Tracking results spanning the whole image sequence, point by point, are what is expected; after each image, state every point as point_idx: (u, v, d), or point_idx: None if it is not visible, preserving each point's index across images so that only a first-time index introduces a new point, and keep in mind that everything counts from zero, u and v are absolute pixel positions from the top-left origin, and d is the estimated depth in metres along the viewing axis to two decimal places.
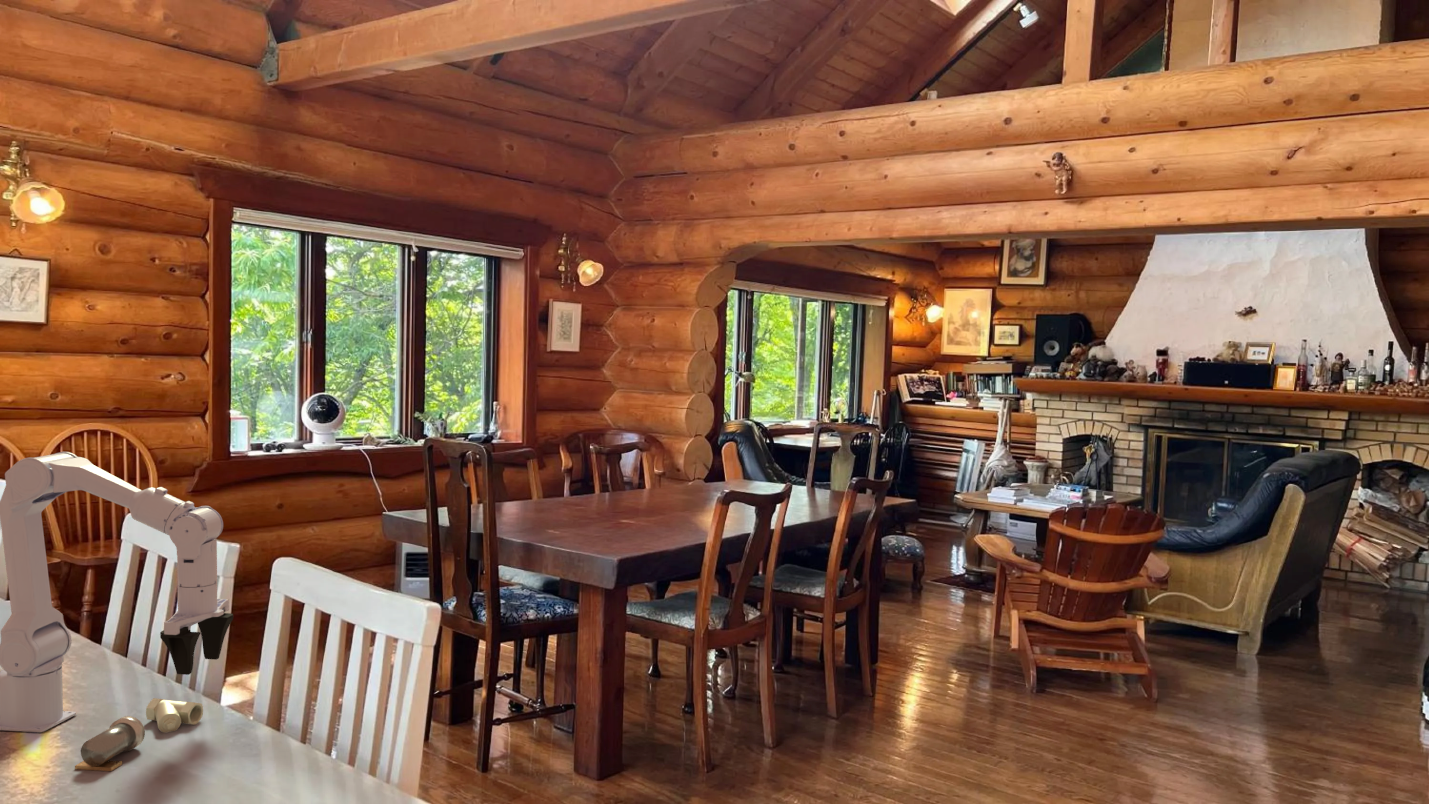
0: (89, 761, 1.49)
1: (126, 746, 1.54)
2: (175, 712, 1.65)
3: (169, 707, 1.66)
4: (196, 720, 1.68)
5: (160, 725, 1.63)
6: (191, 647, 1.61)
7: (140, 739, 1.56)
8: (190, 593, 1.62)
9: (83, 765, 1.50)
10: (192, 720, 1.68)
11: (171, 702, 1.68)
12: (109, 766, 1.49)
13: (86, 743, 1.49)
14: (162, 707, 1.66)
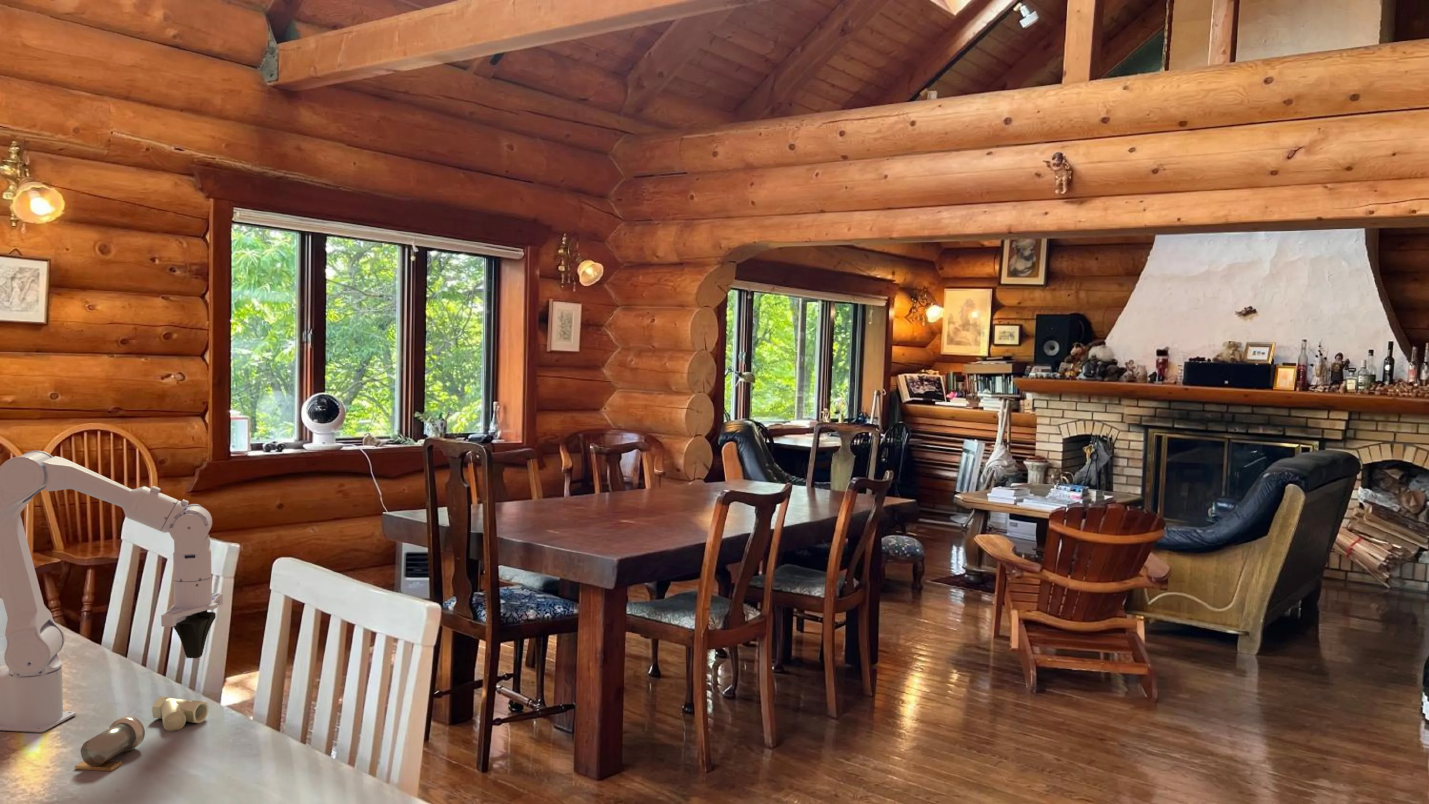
0: (89, 761, 1.49)
1: (126, 746, 1.54)
2: (180, 710, 1.66)
3: (174, 705, 1.67)
4: (201, 719, 1.69)
5: (165, 723, 1.64)
6: (199, 632, 1.72)
7: (140, 739, 1.56)
8: (186, 587, 1.70)
9: (83, 765, 1.50)
10: (197, 719, 1.69)
11: (177, 700, 1.69)
12: (109, 766, 1.49)
13: (86, 743, 1.49)
14: (167, 705, 1.67)
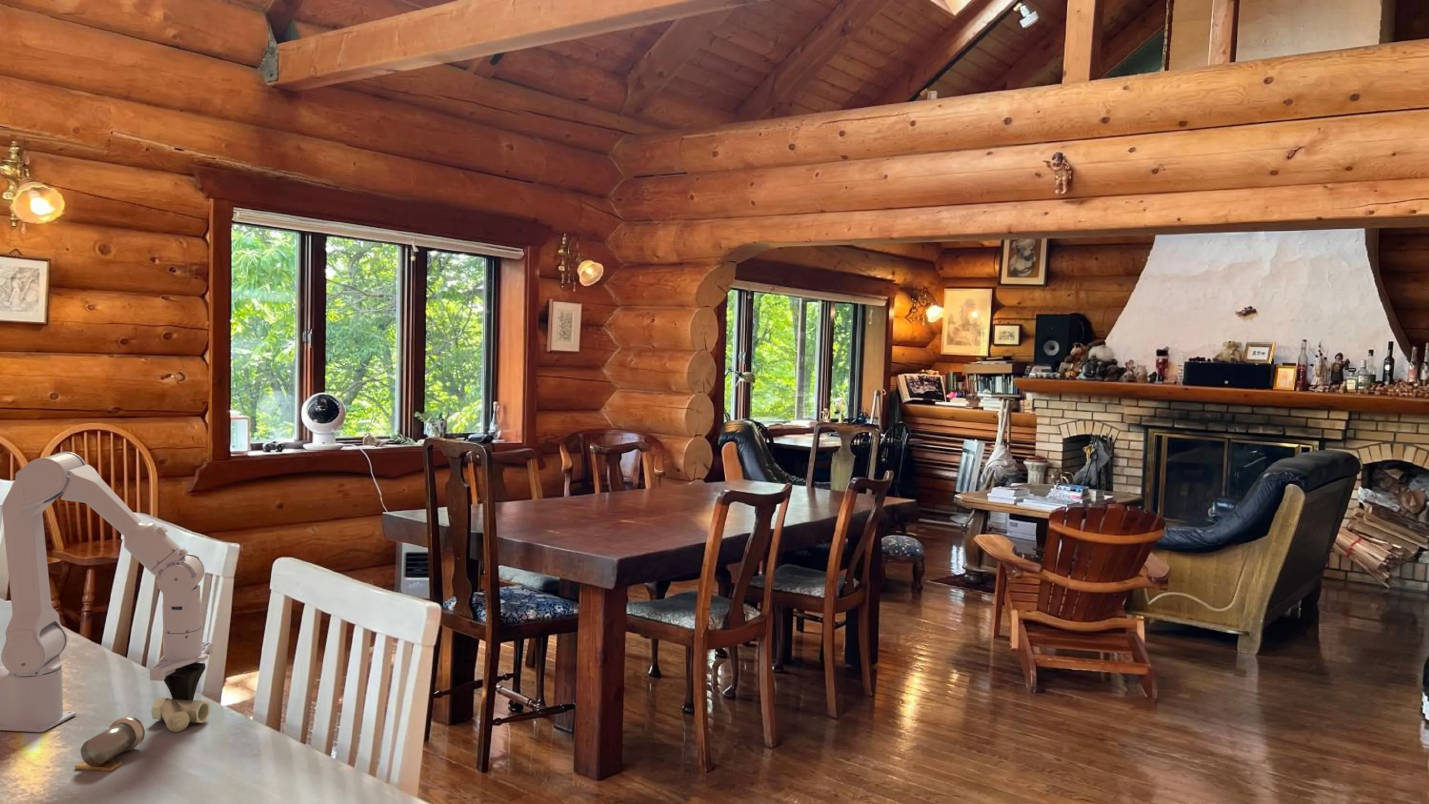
0: (89, 761, 1.49)
1: (126, 746, 1.54)
2: (183, 710, 1.65)
3: (176, 706, 1.66)
4: (203, 718, 1.68)
5: (169, 724, 1.63)
6: (189, 684, 1.69)
7: (140, 739, 1.56)
8: (175, 639, 1.68)
9: (83, 765, 1.50)
10: (199, 718, 1.68)
11: (177, 701, 1.68)
12: (109, 766, 1.49)
13: (86, 743, 1.49)
14: (168, 706, 1.66)
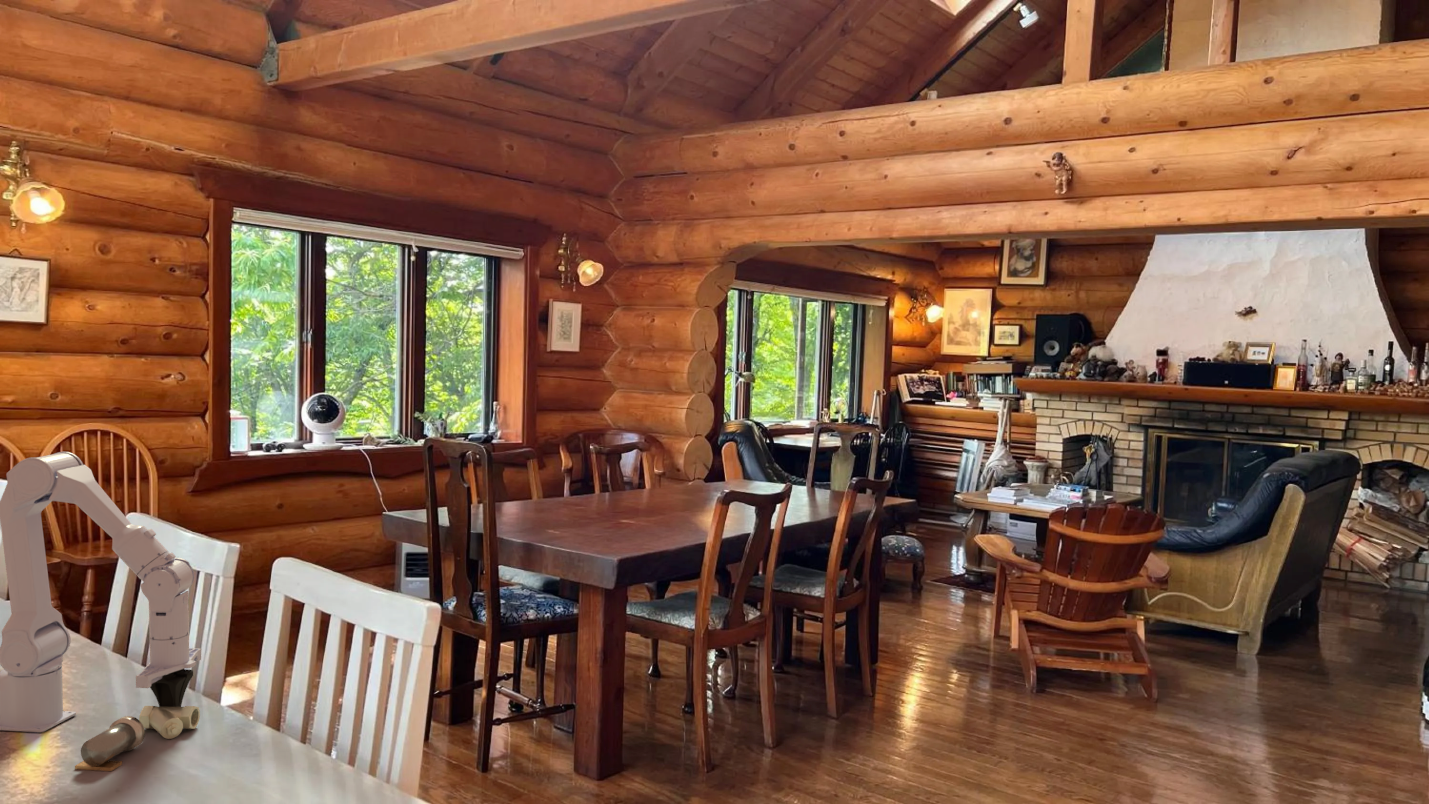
0: (89, 761, 1.49)
1: (126, 746, 1.54)
2: (176, 717, 1.62)
3: (167, 713, 1.63)
4: (194, 724, 1.66)
5: (163, 731, 1.60)
6: (176, 692, 1.66)
7: (140, 739, 1.56)
8: (162, 645, 1.64)
9: (83, 765, 1.50)
10: None
11: (166, 708, 1.64)
12: (109, 766, 1.49)
13: (86, 743, 1.49)
14: (158, 713, 1.63)
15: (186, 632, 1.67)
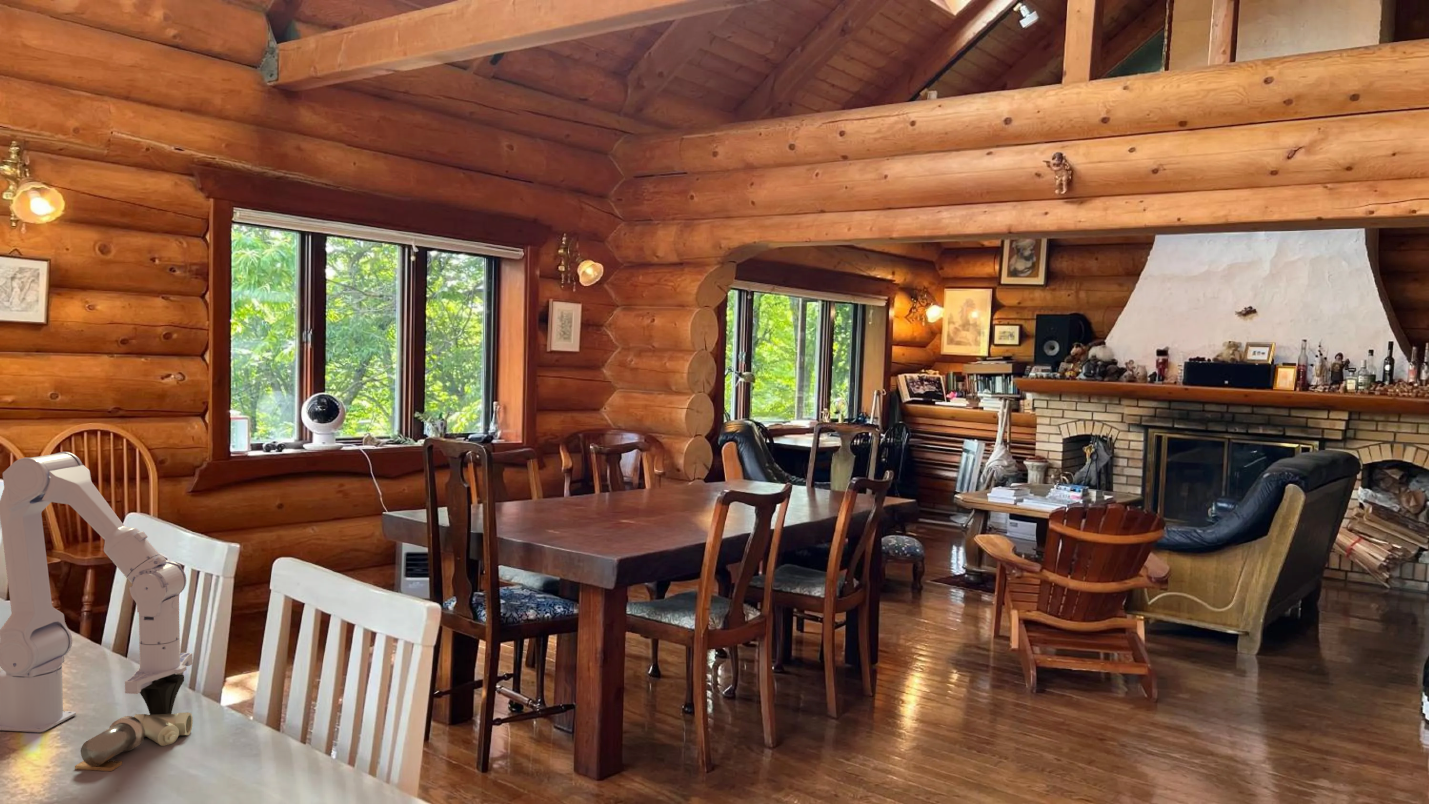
0: (89, 761, 1.49)
1: (126, 746, 1.54)
2: (172, 724, 1.60)
3: (161, 720, 1.60)
4: (188, 731, 1.64)
5: (159, 738, 1.58)
6: (166, 697, 1.63)
7: (140, 739, 1.56)
8: (152, 650, 1.62)
9: (83, 765, 1.50)
10: None
11: (159, 716, 1.62)
12: (109, 766, 1.49)
13: (86, 743, 1.49)
14: (152, 721, 1.60)
15: (175, 637, 1.64)
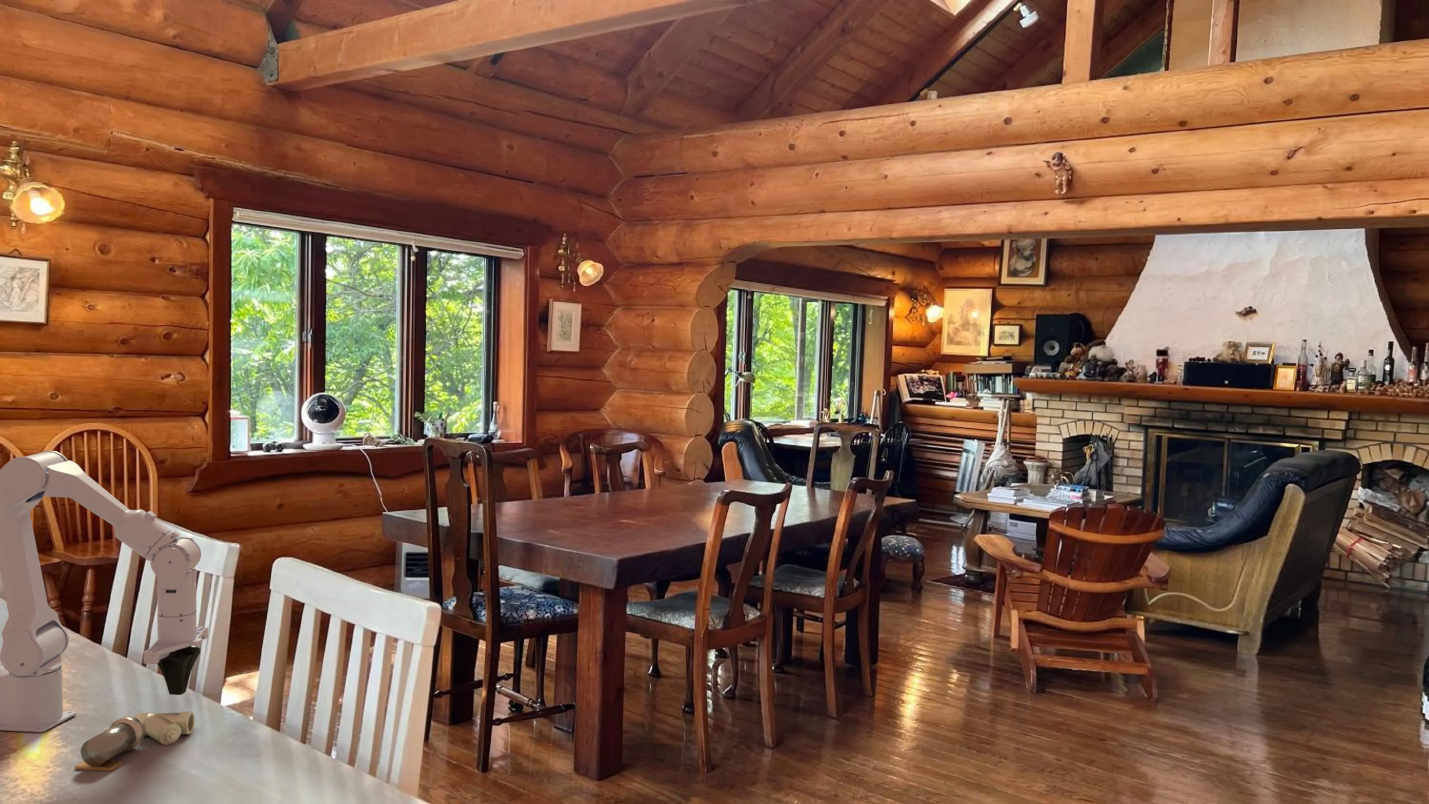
0: (89, 761, 1.49)
1: (126, 746, 1.54)
2: (174, 723, 1.60)
3: (164, 719, 1.61)
4: (190, 730, 1.64)
5: (161, 737, 1.58)
6: (183, 669, 1.68)
7: (140, 739, 1.56)
8: (169, 623, 1.66)
9: (83, 765, 1.50)
10: None
11: (161, 714, 1.62)
12: (109, 766, 1.49)
13: (86, 743, 1.49)
14: (154, 720, 1.61)
15: (194, 609, 1.69)
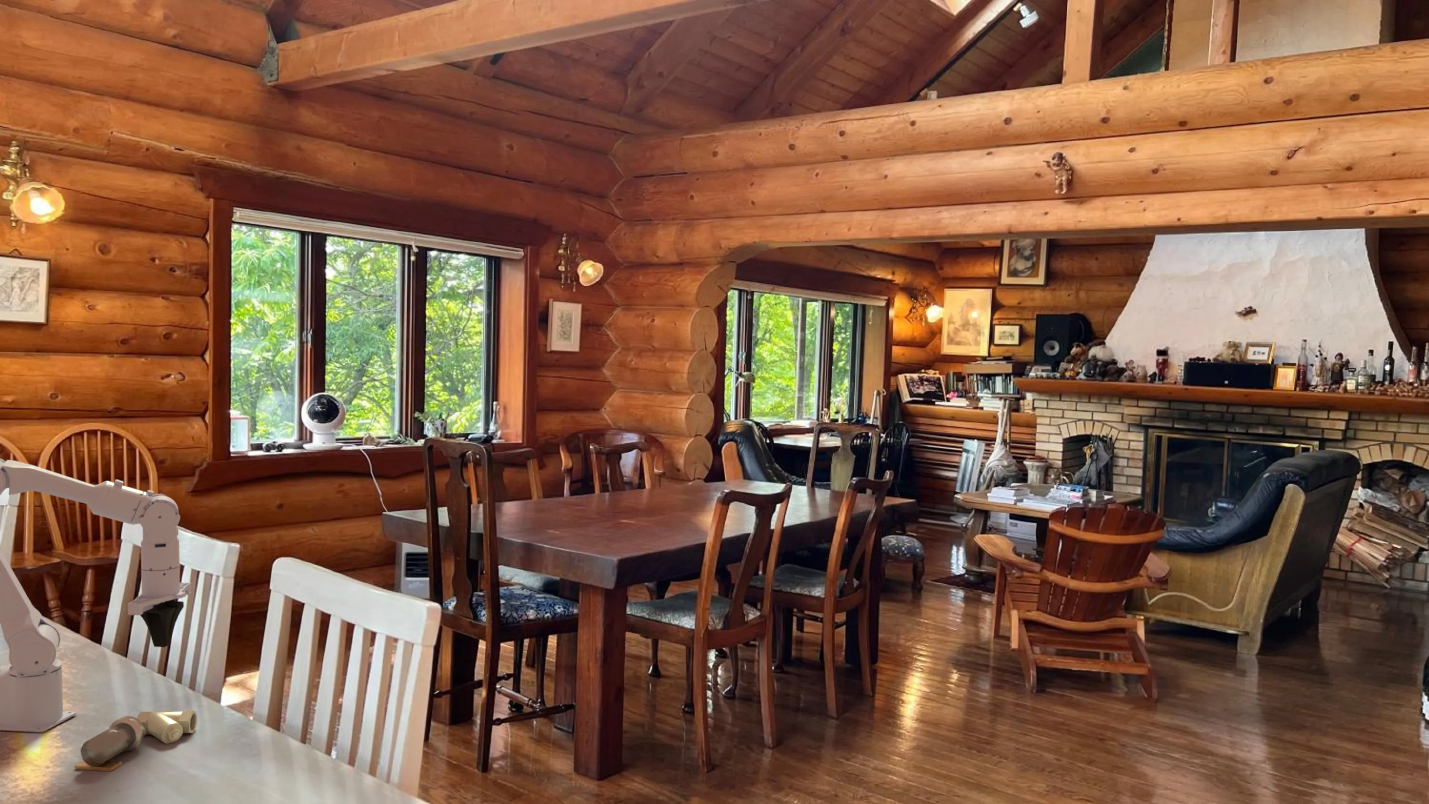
0: (89, 761, 1.49)
1: (126, 746, 1.54)
2: (176, 722, 1.61)
3: (166, 718, 1.61)
4: (192, 729, 1.64)
5: (163, 736, 1.59)
6: (167, 621, 1.73)
7: (140, 739, 1.56)
8: (153, 576, 1.71)
9: (83, 765, 1.50)
10: None
11: (163, 713, 1.63)
12: (109, 766, 1.49)
13: (86, 743, 1.49)
14: (156, 719, 1.61)
15: None
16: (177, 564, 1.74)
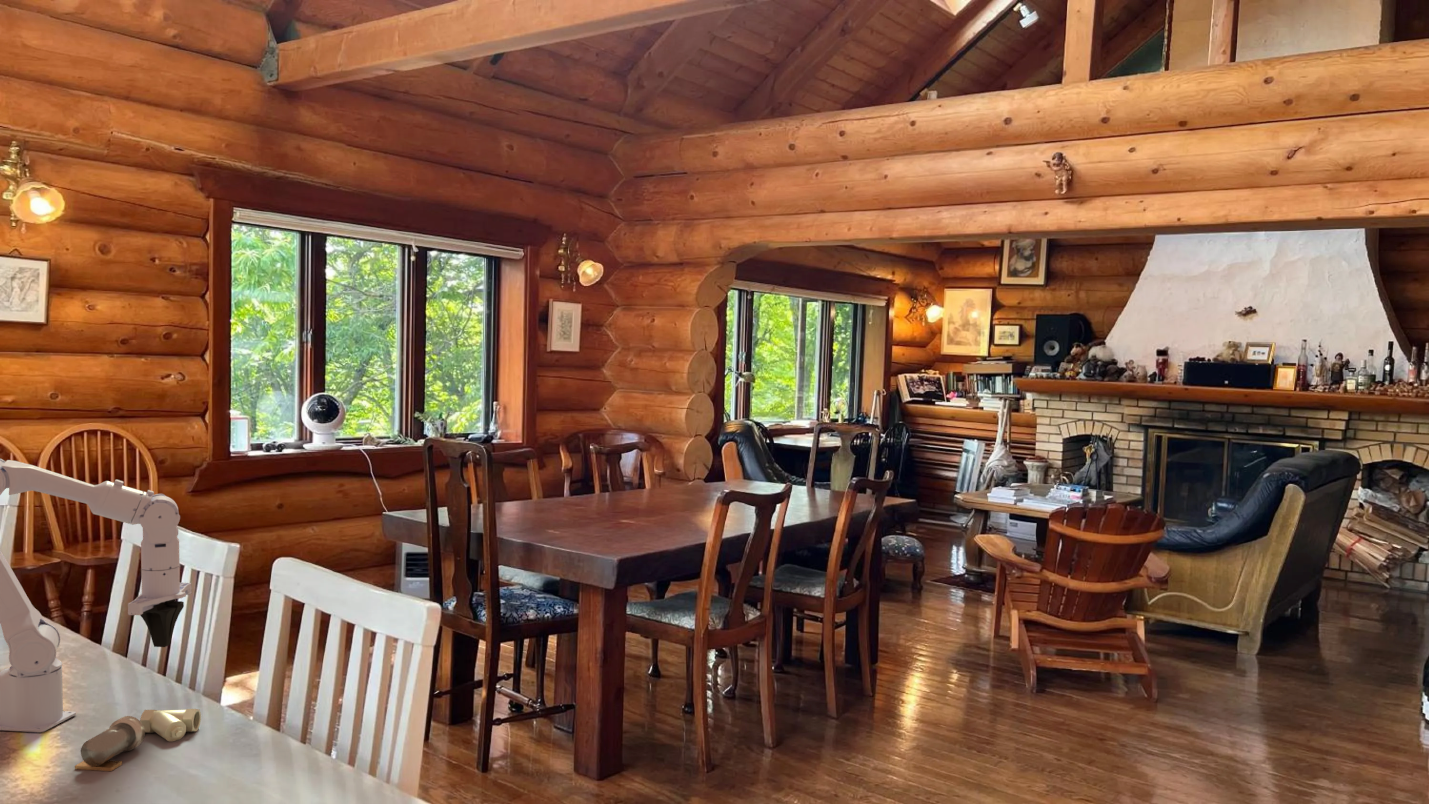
0: (89, 761, 1.49)
1: (126, 746, 1.54)
2: (179, 720, 1.62)
3: (169, 716, 1.62)
4: (196, 727, 1.65)
5: (167, 734, 1.60)
6: (167, 621, 1.73)
7: (140, 739, 1.56)
8: (153, 576, 1.71)
9: (83, 765, 1.50)
10: None
11: (167, 711, 1.64)
12: (109, 766, 1.49)
13: (86, 743, 1.49)
14: (160, 717, 1.62)
15: None
16: (177, 564, 1.74)
